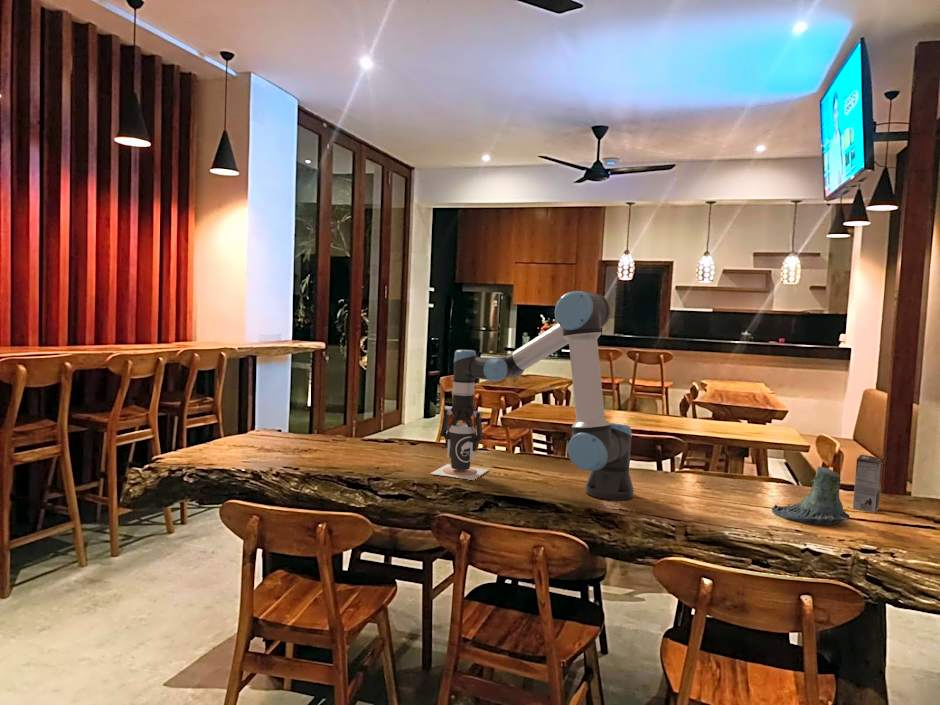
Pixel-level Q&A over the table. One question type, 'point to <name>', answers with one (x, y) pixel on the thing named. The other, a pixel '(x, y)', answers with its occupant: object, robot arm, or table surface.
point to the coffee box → (868, 483)
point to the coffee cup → (460, 445)
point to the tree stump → (817, 502)
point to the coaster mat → (460, 472)
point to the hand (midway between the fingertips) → (460, 458)
